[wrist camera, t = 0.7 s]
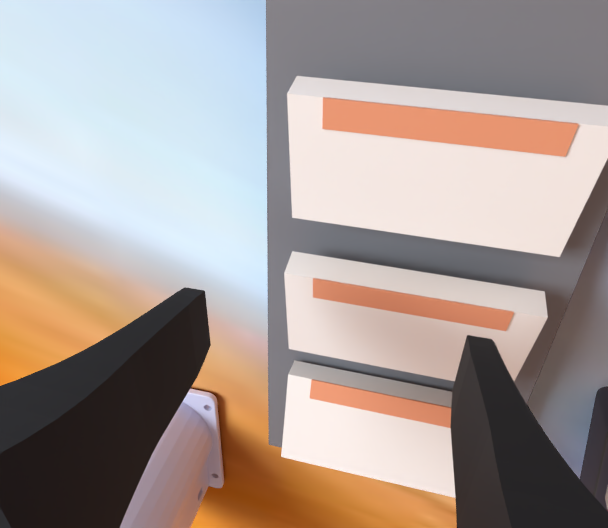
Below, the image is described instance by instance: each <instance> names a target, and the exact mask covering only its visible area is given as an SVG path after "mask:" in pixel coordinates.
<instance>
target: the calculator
mask: <svg viewBox="0 0 608 528" xmlns="http://www.w3.org/2000/svg"><path fill="white" fill-rule="evenodd" d="M580 480H581V482H582V483H583V484H584V485H585V487H586V488H587V489H588V490H589V491H590V492H591V493H592V494H593V496H594V497H595V498H596V499H597V500H598V501H599V502H600V503H601V504H602V505H603V506H604V508H605V509H606V510H607V511H608V387H603V388H600V389H599V390H598V391H597V394H596V398H595V404H594V409H593V414H592V419H591V424H590V429H589V435H588V440H587V445H586V450H585V455H584V461H583V466H582V471H581V476H580Z"/></svg>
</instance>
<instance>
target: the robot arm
mask: <svg viewBox="0 0 608 528" xmlns="http://www.w3.org/2000/svg"><path fill="white" fill-rule="evenodd" d="M210 345H211V344H210V335H209V326H208V317H207V307H206V298H205V291H203V290H197V289H191V288H183V289H182V290H180V291H178V292H177V293H175V294H174V295H172V296H171V297H169V298H168V299H166V300H165V301H163V302H162V303H160V304H159V305H157V306H156V307H154V308H153V309H151V310H150V311H148V312H147V313H145V314H144V315H142V316H141V317H139V318H138V319H136V320H134V321H133V322H131V323H130V324H128V325H127V326H125V327H123V328H122V329H120V330H118V331H117V332H115V333H113V334H112V335H110V336H108V337H106V338H105V339H103V340H101V341H100V342H98V343H96V344H95V345H93V346H91V347H89V348H87V349H85V350H83V351H81V352H80V353H78V354H75V355H73V356H71V357H69V358H67V359H65V360H63V361H61V362H59V363H57V364H55V365H52V366H50V367H47V368H45V369H43V370H40V371H38V372H35V373H33V374H31V375H28V376H26V377H23V378H21V379H18V380H16V381H13V382H10V383H7V384H5V385H2V386H0V528H190V527H191V525H192V523H193V521H194V518H195V516H196V514H197V511H198V509H199V507H200V504H201V502H202V500H203V498H204V495H205V493H206V491H207V488H208V486H210V487H214V488H221V487H223V484H224V472H223V461H222V450H221V439H220V427H219V416H218V405H217V398H216V397H215V395H213V394H212V393H209V392H204V391H200V390H195V389H190V388H191V386H192V385H193V383H194V381H195V379H196V378H197V376H198V374H199V371H200V369H201V367H202V365H203V362H204V360H205V357H206V355H207V352H208V350H209V348H210ZM451 441H452V456H453V469H454V483H455V496H456V513H457V528H608V511H607V510H606V509H605V508H604V506H603V505H602V504H601V503H600V502H599V501H598V500H597V499H596V498H595V497H594V496H593V494H592V493H591V492H590V491H589V490H588V489H587V488H586V487H585V485H584V484H583V483H582V482H581V480H580V479H579V478H578V477H577V476H576V474H575V473H574V472H573V471H572V469H571V468H570V467H569V466H568V464H567V463H566V462H565V460H564V459H563V458H562V456H561V455H560V454H559V452H558V451H557V450H556V448H555V447H554V446H553V444H552V443H551V441H550V440H549V438H548V437H547V435H546V434H545V432H544V431H543V429H542V428H541V426H540V425H539V423H538V422H537V420H536V419H535V417H534V415H533V414H532V412H531V411H530V409H529V407H528V406H527V404H526V402H525V400H524V399H523V397H522V395H521V394H520V392H519V390H518V388H517V387H516V385H515V383H514V381H513V379H512V377H511V375H510V373H509V371H508V370H507V368H506V366H505V364H504V361H503V359H502V357H501V355H500V353H499V351H498V349H497V346H496V344H495V343H494V341H493V340H492V339H488V338H483V337H477V336H471V335H467V337H466V341H465V345H464V348H463V352H462V356H461V360H460V363H459V367H458V371H457V375H456V378H455V382H454V386H453V390H452V405H451Z"/></svg>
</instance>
